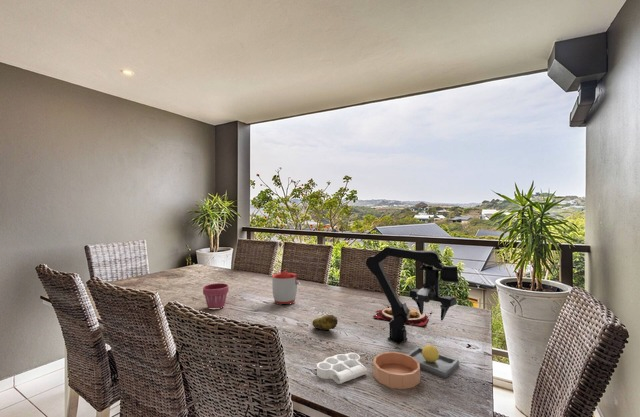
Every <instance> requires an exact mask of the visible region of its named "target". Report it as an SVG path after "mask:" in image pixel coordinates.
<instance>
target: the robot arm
mask: <svg viewBox="0 0 640 417" xmlns="http://www.w3.org/2000/svg"><path fill="white" fill-rule="evenodd" d="M388 257H395V258H400V259H407V260H413V261H417V262H418V263H421V264H422V265H421V266H420V267H419V270H421V271H424V282H423V283H422V287H421V288H420V289H418V288H414V289H413V288H412V290H409V292H408V297H409V298H411V300H413V301H415V303H416V305H417V309H418V310H419V311H420V314H421V315H422V314H423V312H424V307H425V306H424V305H425V303H429V302H430V300H432V301H437V302H440V305H439V307H440V320H441V322H442V321H444V320H445V317H446V315H447V312H448V310H449V309H450V307H453V306H455V305H457V298H455V297H456V296H455V297H454V296H450V295H444V296H441V292H440V286H441V282H440V280H442V281H443V282H444V283H450V284H452V283H453V284H458V283H459V273H458V270H459V269H458V266H457V265H452V266H451V265H450V266H449V265H445V264H444V262H442V260H441V259H440V255H439V253H438V252H437V251H436V250H430V249H429V250H426V249H425V250H414V249H407V248H400V247H395V246H394V247H393V246H390V245H388V246H386V247H384V248H383V249H381V250H380V251H379V252H378V253H377V254H372V255H371V256H369V257H367V259H366V261H365V266H366V268H368V269H369V271H370V272H371V273H372V274H373V275H374V276H375V278H376V280H377V281H378V284H379V285H380V287H381V289H382V291H383V293H384V295H385V297H386V299H387V301H388V304H390V307H391V309H392V314H393V318H392V319H391V321H390V320H389V322H388V326H389V337H387V340H388V341H391V342H394V343H397V344H402V343H403V342H405V341H407V340H408V337H407V328H406V326H405V325H407V324H408V323H407V321H408V319H409V316H410V313H409V312H410V310H409V309H408V308H407V307H408V305H407V303H406V302H404V303H403V302H401V301H400V299H399V297H398V295H397V293H396V291H395V289H394V288H393V285H392V284H391V282H390V280H389V278H388V276H387V274H386V271H385V268H384V267H385V266H384V263H383V261H384V260H385V259H387V258H388ZM406 323H407V324H406Z"/></svg>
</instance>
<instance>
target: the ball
mask: <svg viewBox="0 0 640 417" xmlns="http://www.w3.org/2000/svg"><path fill="white" fill-rule="evenodd" d="M422 348H423V350H422V356H423V358H424V359H425V360H426V361H428V362H430V363H433V362H436V361H437V360H438V358H439V354H440V353H439V349H438V348H437V347H436V346H434V345H431V344H427V345H425V346H424V347H422Z"/></svg>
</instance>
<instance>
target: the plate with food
mask: <svg viewBox="0 0 640 417" xmlns="http://www.w3.org/2000/svg"><path fill="white" fill-rule="evenodd" d="M388 307H389V308H388ZM407 308H408V309H409V310H410V312H409V313H410V316H409V319H408V321H407V323H406V324H405V325H409V326H419V327H421V326H426V325H427V324H428V322H429V320H430V318H429V317H432V314H431V315H427V313H426V312H425V311H423V314H422V315H421V314H420V311H419V308H414V307H409V306H407ZM424 312H425V313H424ZM431 312H432V313H433V311H431ZM376 315H377V316H376ZM372 318H375V319H381V320H383V321H389V322H390V321H391V319H392V318H393V314H392V309H391V306H386V307H385V308H382V309H379V310H377V311H375V314H374V315H372Z"/></svg>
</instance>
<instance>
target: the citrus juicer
mask: <svg viewBox="0 0 640 417" xmlns="http://www.w3.org/2000/svg"><path fill="white" fill-rule="evenodd" d="M271 277H272V284H271V285H272V287H271V288H272V290H271V291H272V295H273V300H274V302H276V303H278V304H290V303H292V304H294V303H295V300H296V298H297V294H298V285H301V282H300V280H299V279H298V274H297V273H295V272H294V273H293V272H288V271H287V270H286V269H285V270H283V271H282V272H278V273H274V274H272V275H271ZM293 302H294V303H293ZM276 303H275V304H276ZM278 304H277V305H278ZM290 305H291V304H290Z"/></svg>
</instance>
